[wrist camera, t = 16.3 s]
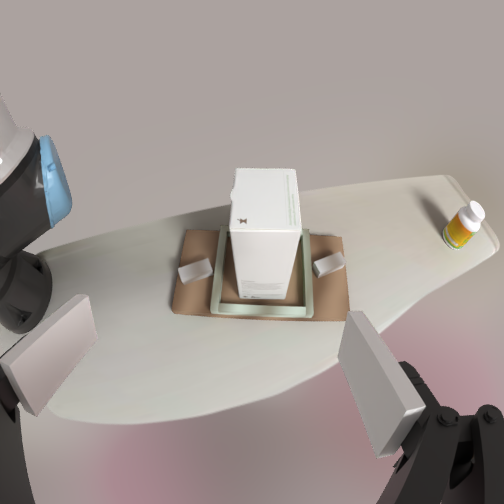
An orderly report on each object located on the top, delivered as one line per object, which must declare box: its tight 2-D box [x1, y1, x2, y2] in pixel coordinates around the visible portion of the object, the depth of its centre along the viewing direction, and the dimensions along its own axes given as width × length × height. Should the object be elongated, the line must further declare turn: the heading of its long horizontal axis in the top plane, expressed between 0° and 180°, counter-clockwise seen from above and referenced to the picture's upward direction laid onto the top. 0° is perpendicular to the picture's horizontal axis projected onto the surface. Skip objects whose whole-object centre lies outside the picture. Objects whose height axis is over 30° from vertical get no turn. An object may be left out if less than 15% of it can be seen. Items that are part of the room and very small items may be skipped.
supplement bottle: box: [443, 201, 485, 250], centre depth 39 cm, size 5×5×10 cm
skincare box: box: [229, 168, 302, 299], centre depth 31 cm, size 8×7×16 cm
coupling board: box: [172, 225, 350, 321], centre depth 38 cm, size 24×13×3 cm, turn 87°
